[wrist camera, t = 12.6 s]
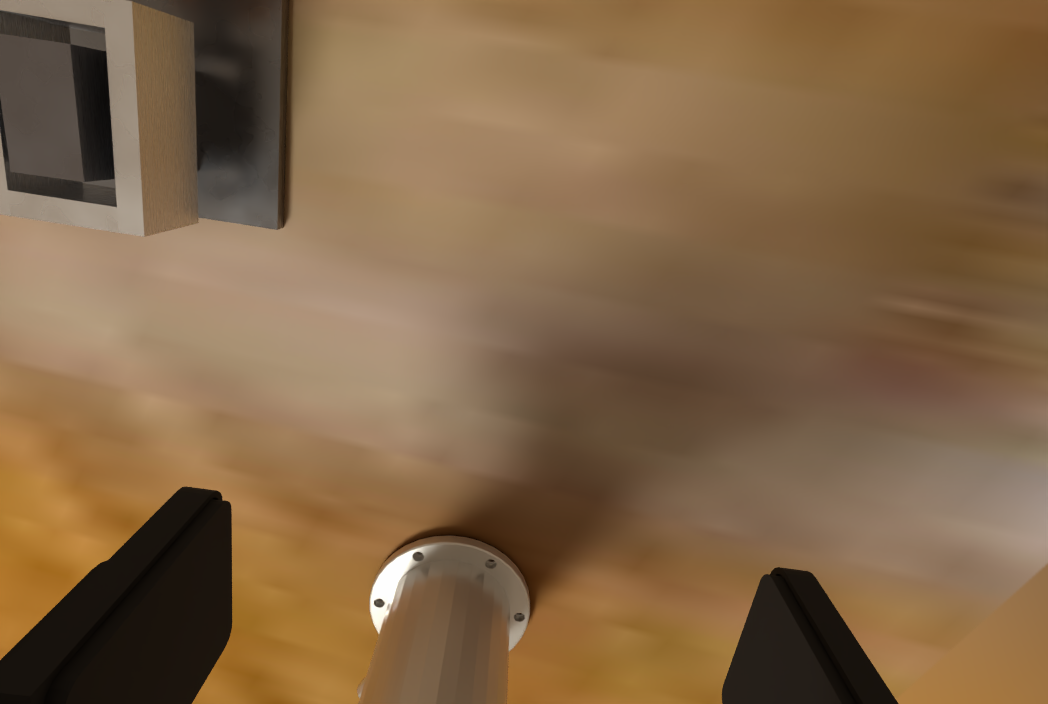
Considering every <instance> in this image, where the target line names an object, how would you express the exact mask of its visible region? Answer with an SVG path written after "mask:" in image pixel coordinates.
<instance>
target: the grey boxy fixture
mask: <svg viewBox="0 0 1048 704" xmlns="http://www.w3.org/2000/svg"><path fill="white" fill-rule="evenodd" d="M288 11H289V0H0V34H6V35H13V36H20V37H27V38H33V39H40V40H47V41H54V42H60V43H67V44H73V45H77V46H82V47H87V48H92V49H97V50H101V51H106V52H107V66H108V81H109V96H110V111H111V126H112V141H113V155H114V170H115V179H111V180H100V181H90V182H80V181H73V180H66V179H59V178H52V177H44V176H37V175H30V174H23V173H16V172H11V170H10V163H9V156H8V149H7V141H6V134H5V127H4V120H3V113H2V106H1V99H0V214H1V215H7V216H14V217H20V218H27V219H33V220H40V221H46V222H53V223H59V224H66V225H72V226H78V227H85V228H91V229H98V230H104V231H111V232H117V233H124V234H130V235H137V236H143V237H145V236H149V235H153V234H157V233H161V232H165V231H169V230H173V229H177V228H181V227H185V226H189V225H193V224H196V223H198V217H199V218H206V219H212V220H218V221H225V222H231V223H237V224H244V225H250V226H257V227H263V228H269V229H276V230H278V229H281V228H283V225H284V183H285V140H286V97H287V54H288ZM195 78H196V96H195ZM196 103H197V127H198V152H199V171H197V139H196Z"/></svg>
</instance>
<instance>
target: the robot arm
mask: <svg viewBox="0 0 1048 704" xmlns="http://www.w3.org/2000/svg"><path fill="white" fill-rule="evenodd" d="M370 614H371V617H372V621H373V624H374V626H375V628H376V630H377V632H378V634H379V636H378V640H377V643H376V646H375V650H374V653H373V656H372V660H371V663H370V666H369V670H368V673H367V676H366V677H365V678H364V679H363V680H362V682H361V683H360V684H359V685H358V689H357V692H358V696H359V698H360V700H359V703H358V704H507V684H508V657H509V651H510V650H512V649H513V648H514V647H515V646H516V644H517V643H518V642H519V640H520V639H521V638H522V636H523V634H524V632H525V630H526V628H527V625H528V621H529V616H530V597H529V590H528V587H527V584H526V582H525V579H524V577H523V575H522V574H521V572H520V571H519V569H518V568H517V566H516V565H515V564H514V563H513V562H512V561H511V560H510V559H509V558H508V557H507V556H506V555H504V554H503V553H502V552H500V551H499V550H497V549H496V548H494V547H492V546H490V545H488V544H485V543H483V542H481V541H478V540H474V539H470V538H467V537H459V536H450V535H449V536H433V537H429V538H424V539H420V540H417V541H415V542H412V543H410V544H408V545H405V546H404V547H402V548H401V549H399V550H398V551H396V552H395V553H393V554H392V555H391V556H390V557H389V558H388V559H387V560H386V561H385V562H384V563H383V565H382V567H381V568H380V570H379V571H378V573H377V575H376V578H375V580H374V583H373V586H372V589H371V594H370ZM231 628H232V525H231V504H230V502H228V501H222V495H221V493H220V492H218V491H214V490H207V489H200V488H192V487H182V488H181V489H179V490H178V491H177V492H176V493H175V494H174V495H173V496H172V497H171V498H170V499H169V500H168V501H167V502H166V503H165V504H164V505H163V506H162V507H161V508H160V509H159V510H158V511H157V512H156V513H155V514H154V515H153V516H152V517H151V518H150V519H149V520H148V521H147V522H146V523H145V524H144V525H143V526H142V527H141V528H140V529H139V530H138V531H137V532H136V533H135V534H134V535H133V536H132V537H131V538H130V539H129V540H128V541H127V542H126V543H125V544H124V545H123V546H122V547H121V548H120V549H119V550H118V551H117V552H116V553H115V554H114V555H113V556H112V557H111V558H110V559H109V560H107V561H105V562H102V563H100V564H99V565H97V566H96V567H95V568H94V569H92V570H91V571H90V572H89V573H88V574H87V575H86V576H85V577H84V578H83V579H82V580H81V581H80V582H79V583H78V584H77V585H76V586H75V587H74V588H73V589H72V590H71V591H70V592H69V593H68V594H67V595H66V596H65V597H64V598H63V599H62V600H61V601H60V602H59V603H58V604H57V605H56V606H55V607H54V608H53V609H52V610H51V611H50V612H49V613H48V614H47V615H46V616H45V617H44V618H43V619H42V620H41V621H40V622H39V623H38V624H37V625H36V626H35V627H34V628H33V629H32V630H31V631H30V632H29V633H27V634H26V635H25V636H24V637H23V638H22V639H21V640H20V641H19V642H18V643H17V644H16V645H15V646H14V647H13V648H12V649H11V650H10V651H9V652H8V653H7V654H6V655H5V656H4V657H3V658H2V659H1V660H0V704H192V702H193V701H194V699H195V697H196V695H197V694H198V692H199V690H200V689H201V687H202V685H203V684H204V682H205V680H206V679H207V677H208V675H209V674H210V672H211V670H212V669H213V667H214V665H215V664H216V662H217V660H218V659H219V657H220V655H221V654H222V652H223V650H224V648H225V646H226V645H227V642H228V640H229V637H230V633H231ZM722 703H723V704H898V702H897V701H896V699H895V698H894V696H893V695H892V693H891V692H890V690H889V689H888V687H887V686H886V684H885V683H884V681H883V680H882V678H881V677H880V675H879V674H878V672H877V670H876V669H875V667H874V666H873V664H872V663H871V661H870V660H869V658H868V657H867V655H866V654H865V652H864V651H863V649H862V648H861V646H860V645H859V643H858V642H857V640H856V639H855V637H854V635H853V634H852V632H851V631H850V629H849V628H848V626H847V625H846V623H845V622H844V620H843V619H842V617H841V616H840V614H839V613H838V611H837V610H836V608H835V607H834V605H833V604H832V602H831V600H830V599H829V597H828V596H827V594H826V593H825V591H824V590H823V588H822V587H821V585H820V584H819V582H818V581H817V579H816V578H815V576H814V575H813V574H812V573H810V572H808V571H802V570H794V569H787V568H780V567H778V568H775V569H774V570H773V571H772V572H771V574H770V575H768V574H766V575H764V576H763V577H762V578H761V580H760V583H759V586H758V589H757V592H756V594H755V597H754V600H753V603H752V606H751V608H750V611H749V614H748V617H747V620H746V623H745V625H744V628H743V631H742V634H741V637H740V640H739V642H738V645H737V648H736V651H735V654H734V656H733V659H732V662H731V665H730V668H729V671H728V673H727V676H726V679H725V682H724V685H723V689H722Z"/></svg>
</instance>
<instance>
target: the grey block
mask: <svg viewBox="0 0 1048 704" xmlns="http://www.w3.org/2000/svg"><path fill="white" fill-rule="evenodd" d="M195 96H196V78H195ZM0 99H1V106H2V113H3V120H4V127H5V134H6V141H7V149H8V156H9V163H10V170H11V172H16V173H23V174H30V175H37V176H44V177H52V178H59V179H66V180H73V181H80V182H90V181H100V180H111V179H115V170H114V155H113V141H112V126H111V111H110V96H109V81H108V66H107V52H106V51H101V50H97V49H92V48H87V47H82V46H77V45H73V44H67V43H60V42H54V41H47V40H40V39H33V38H27V37H20V36H13V35H6V34H0ZM196 139H197V171H199V152H198V127H197V103H196Z"/></svg>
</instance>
